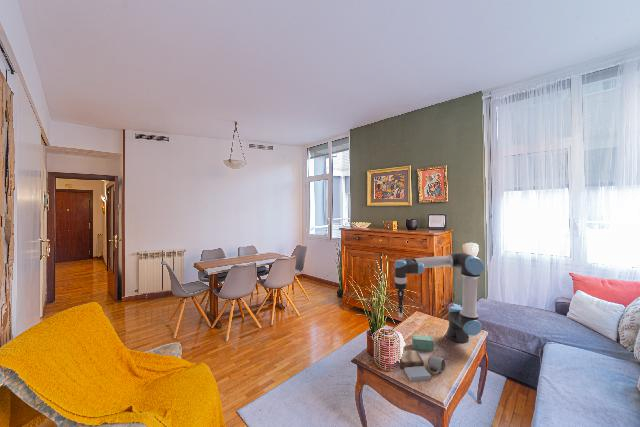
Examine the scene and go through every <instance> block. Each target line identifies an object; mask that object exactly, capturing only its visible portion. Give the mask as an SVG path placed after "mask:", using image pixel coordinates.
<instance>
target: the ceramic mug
mask: <svg viewBox="0 0 640 427" xmlns="http://www.w3.org/2000/svg"><path fill="white" fill-rule="evenodd" d="M427 360H428V362H427V364H428V368H427V369H428V372H429V374H430V375H431V374H432V375H437V374H439V372H440V373H444V371H445V369H446V359H445V358H443V357H439V356H436V355H429V357H428V359H427ZM431 369H433V370H435V371H432V370H431Z"/></svg>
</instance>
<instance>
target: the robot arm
mask: <svg viewBox="0 0 640 427" xmlns="http://www.w3.org/2000/svg"><path fill="white" fill-rule="evenodd" d="M439 267H440V268H441V267H449V268H456V269H459V270H460V275H461V276H462V302H461V306H455V305H454V306H453V305H452V306H450V307H449V308H448V327H447V330H446V335H445V336H446V338H447V339H448V340H449V341H452V342H456V343H461V344H463V343H468V342H469V341H470V337H471V336H473V337H474V336H477V335H479V333H481V332H482V329H483V325H482V323H481V322H480V321H479V318H480V317H479V314H478V312H477V301H478V300H477V298H478V296H477V295H478V278H480V277H481V274H482V272H483V271H484V270H485V264H484V261H483V260H482V259H480V258H479V257H477V256H475V255H471V254H467V253H463V252H458V253H448V254H446V255H438V256H428V257H427V256H425V257H415V258H408V257H404V258H402V259H396V260H395V261H394V277H393V279H394V289H396V290H397V298H398V306H397V309H398V318H402V319H403V318H404V301H405V300H404V299H405V298H404V290H406V289H407V275H419V274H423V273H424V272H425V269H429V268H439Z"/></svg>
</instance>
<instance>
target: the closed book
mask: <svg viewBox="0 0 640 427" xmlns="http://www.w3.org/2000/svg"><path fill="white" fill-rule="evenodd" d="M403 370H404V371H405V372H404V374H407V375H406V376H407V377H408V379H409V381H410V382H420V381H427V380H431V379H432V375H431V373H430V372H429V370H427V369H426V367H425V365H424V366H417V367H406V368H404V369H403Z"/></svg>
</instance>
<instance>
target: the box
mask: <svg viewBox="0 0 640 427" xmlns="http://www.w3.org/2000/svg"><path fill="white" fill-rule="evenodd" d="M411 346H412V350H417V351H418V350H419V351H429V352H434V349H435V348H434V346H435V344H434V340H433V337H432V336H431V335H422V334H411Z"/></svg>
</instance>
